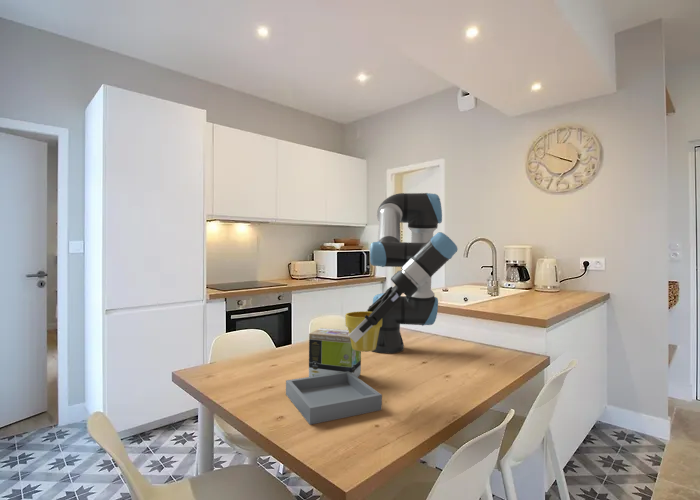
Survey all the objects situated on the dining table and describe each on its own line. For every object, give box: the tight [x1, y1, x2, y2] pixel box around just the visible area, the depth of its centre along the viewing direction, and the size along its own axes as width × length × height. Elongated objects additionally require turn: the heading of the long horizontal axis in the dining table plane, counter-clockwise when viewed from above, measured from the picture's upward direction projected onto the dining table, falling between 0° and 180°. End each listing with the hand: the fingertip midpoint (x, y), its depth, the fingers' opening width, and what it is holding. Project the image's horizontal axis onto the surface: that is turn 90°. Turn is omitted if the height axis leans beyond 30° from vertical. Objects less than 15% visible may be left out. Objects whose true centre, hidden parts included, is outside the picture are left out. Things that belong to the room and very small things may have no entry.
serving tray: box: [285, 371, 383, 426], centre depth 103 cm, size 20×20×4 cm
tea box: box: [308, 327, 362, 378], centre depth 123 cm, size 15×10×15 cm
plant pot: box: [344, 310, 382, 353], centre depth 105 cm, size 10×10×10 cm
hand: (353, 334), depth 105 cm, fingers closed on plant pot, 10 cm apart
